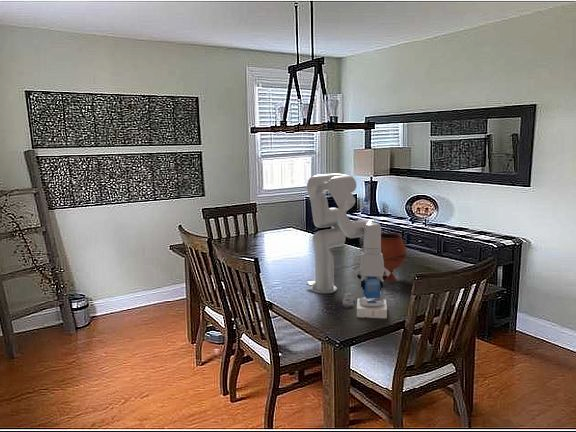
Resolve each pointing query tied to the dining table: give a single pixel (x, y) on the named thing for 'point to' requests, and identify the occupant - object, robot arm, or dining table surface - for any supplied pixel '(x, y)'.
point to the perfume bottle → (371, 287)
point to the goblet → (392, 252)
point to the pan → (371, 301)
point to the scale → (371, 310)
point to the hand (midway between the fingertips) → (371, 288)
